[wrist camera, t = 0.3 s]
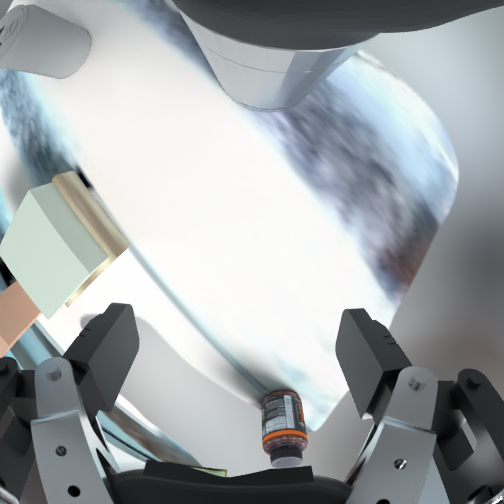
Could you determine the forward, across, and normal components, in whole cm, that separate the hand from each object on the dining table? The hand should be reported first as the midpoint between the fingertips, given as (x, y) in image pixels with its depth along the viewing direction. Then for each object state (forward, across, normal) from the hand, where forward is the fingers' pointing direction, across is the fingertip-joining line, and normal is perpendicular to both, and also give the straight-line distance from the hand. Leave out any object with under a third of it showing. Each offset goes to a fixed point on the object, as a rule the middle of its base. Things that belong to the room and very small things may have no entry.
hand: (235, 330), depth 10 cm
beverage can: (+18, +20, -20) cm, 34 cm away
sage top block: (+15, +20, +2) cm, 25 cm away
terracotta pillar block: (+19, +33, +12) cm, 40 cm away
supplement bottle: (+19, -6, +27) cm, 34 cm away
